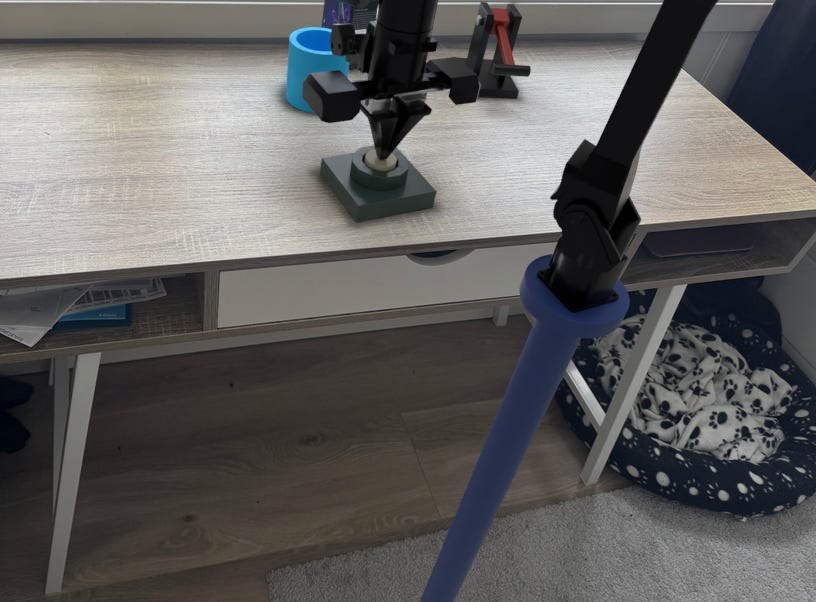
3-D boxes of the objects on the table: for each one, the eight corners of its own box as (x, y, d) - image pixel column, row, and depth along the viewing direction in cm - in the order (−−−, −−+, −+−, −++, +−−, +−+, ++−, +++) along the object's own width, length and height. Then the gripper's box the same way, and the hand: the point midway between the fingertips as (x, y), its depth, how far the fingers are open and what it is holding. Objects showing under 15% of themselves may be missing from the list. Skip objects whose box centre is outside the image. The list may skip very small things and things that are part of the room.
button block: (433, 207, 85) (440, 178, 82) (356, 222, 81) (360, 192, 78) (392, 161, 91) (398, 132, 88) (319, 173, 87) (322, 144, 85)
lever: (526, 81, 100) (532, 67, 98) (491, 79, 99) (496, 65, 97) (510, 23, 106) (515, 9, 104) (476, 21, 105) (481, 6, 103)
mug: (354, 109, 100) (362, 51, 94) (299, 116, 97) (303, 57, 91) (319, 69, 107) (325, 13, 102) (267, 74, 104) (269, 17, 99)
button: (399, 176, 84) (402, 163, 83) (372, 181, 82) (374, 168, 81) (385, 160, 86) (387, 147, 85) (358, 164, 85) (360, 151, 84)
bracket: (516, 98, 107) (538, 25, 100) (464, 95, 106) (482, 21, 99) (499, 67, 114) (518, -3, 107) (449, 64, 113) (465, -7, 106)
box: (318, 47, 113) (325, -26, 105) (350, 43, 115) (359, -29, 107) (343, 70, 108) (351, -4, 100) (375, 65, 110) (386, -8, 103)
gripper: (443, -16, 81) (417, 112, 92) (286, -5, 74) (278, 132, 85) (499, 26, 74) (464, 160, 85) (332, 43, 67) (317, 186, 78)
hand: (381, 157), depth 83 cm, fingers closed, pressing on button
